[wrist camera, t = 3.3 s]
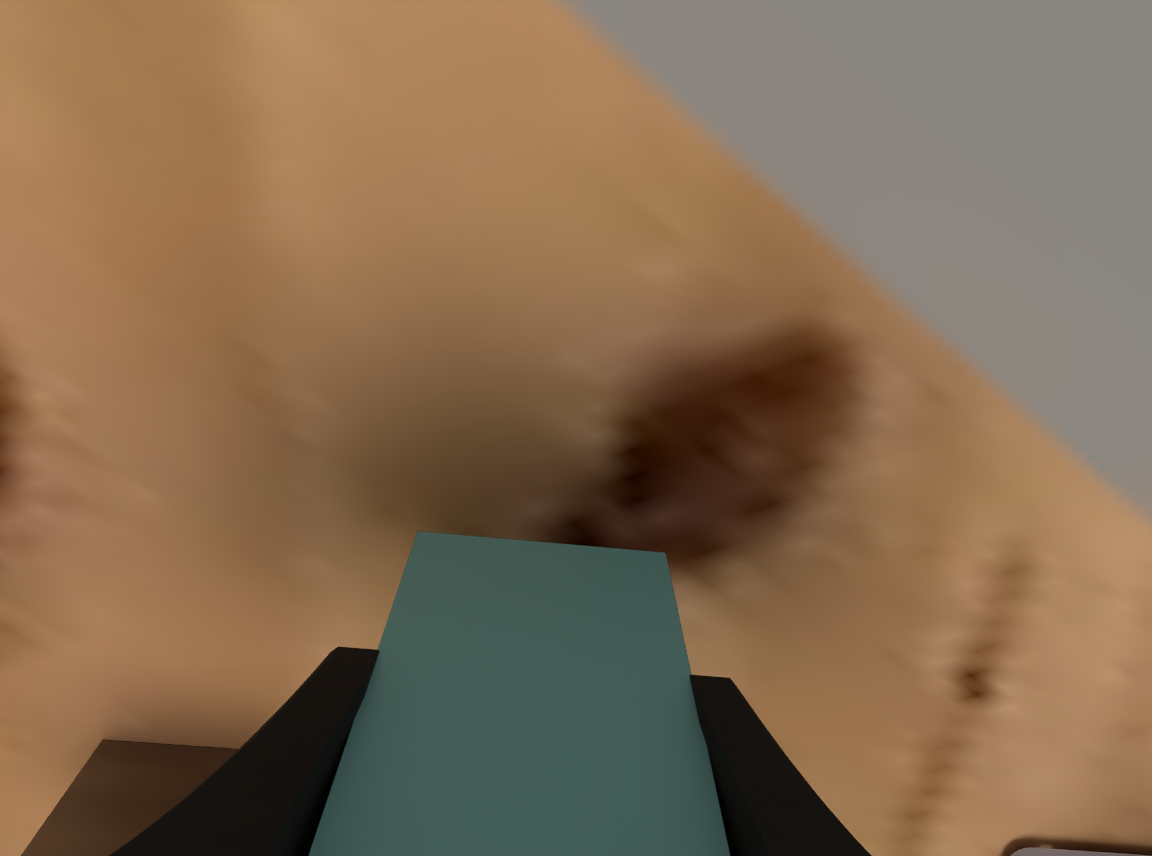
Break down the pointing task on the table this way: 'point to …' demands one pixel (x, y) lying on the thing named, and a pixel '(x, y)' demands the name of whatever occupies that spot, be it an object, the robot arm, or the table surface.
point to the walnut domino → (122, 795)
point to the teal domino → (527, 712)
